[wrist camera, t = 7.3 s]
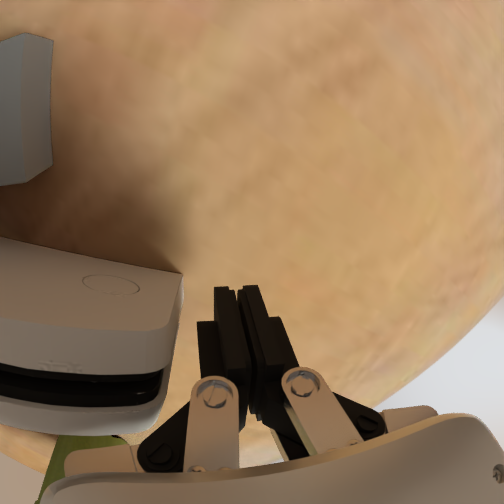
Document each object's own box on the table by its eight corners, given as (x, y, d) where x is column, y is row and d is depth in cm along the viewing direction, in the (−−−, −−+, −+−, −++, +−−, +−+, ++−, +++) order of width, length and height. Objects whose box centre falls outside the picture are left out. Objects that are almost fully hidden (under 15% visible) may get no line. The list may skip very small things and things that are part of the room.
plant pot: (177, 456, 24) (189, 555, 15) (91, 464, 24) (90, 546, 15) (104, 402, 18) (97, 543, 9) (16, 413, 18) (-2, 513, 8)
